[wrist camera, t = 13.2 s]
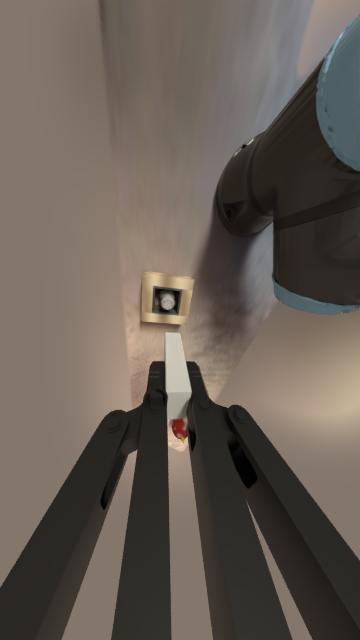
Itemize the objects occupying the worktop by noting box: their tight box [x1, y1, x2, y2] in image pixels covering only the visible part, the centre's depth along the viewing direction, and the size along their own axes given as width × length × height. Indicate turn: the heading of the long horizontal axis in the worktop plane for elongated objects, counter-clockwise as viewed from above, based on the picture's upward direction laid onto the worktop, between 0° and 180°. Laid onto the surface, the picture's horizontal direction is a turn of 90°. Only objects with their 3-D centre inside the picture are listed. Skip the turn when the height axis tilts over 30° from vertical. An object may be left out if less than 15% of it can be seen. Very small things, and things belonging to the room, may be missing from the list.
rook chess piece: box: [159, 289, 175, 310], centre depth 33 cm, size 4×4×8 cm
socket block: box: [141, 271, 195, 325], centre depth 34 cm, size 12×12×5 cm
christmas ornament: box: [172, 419, 188, 443], centre depth 59 cm, size 9×9×10 cm
